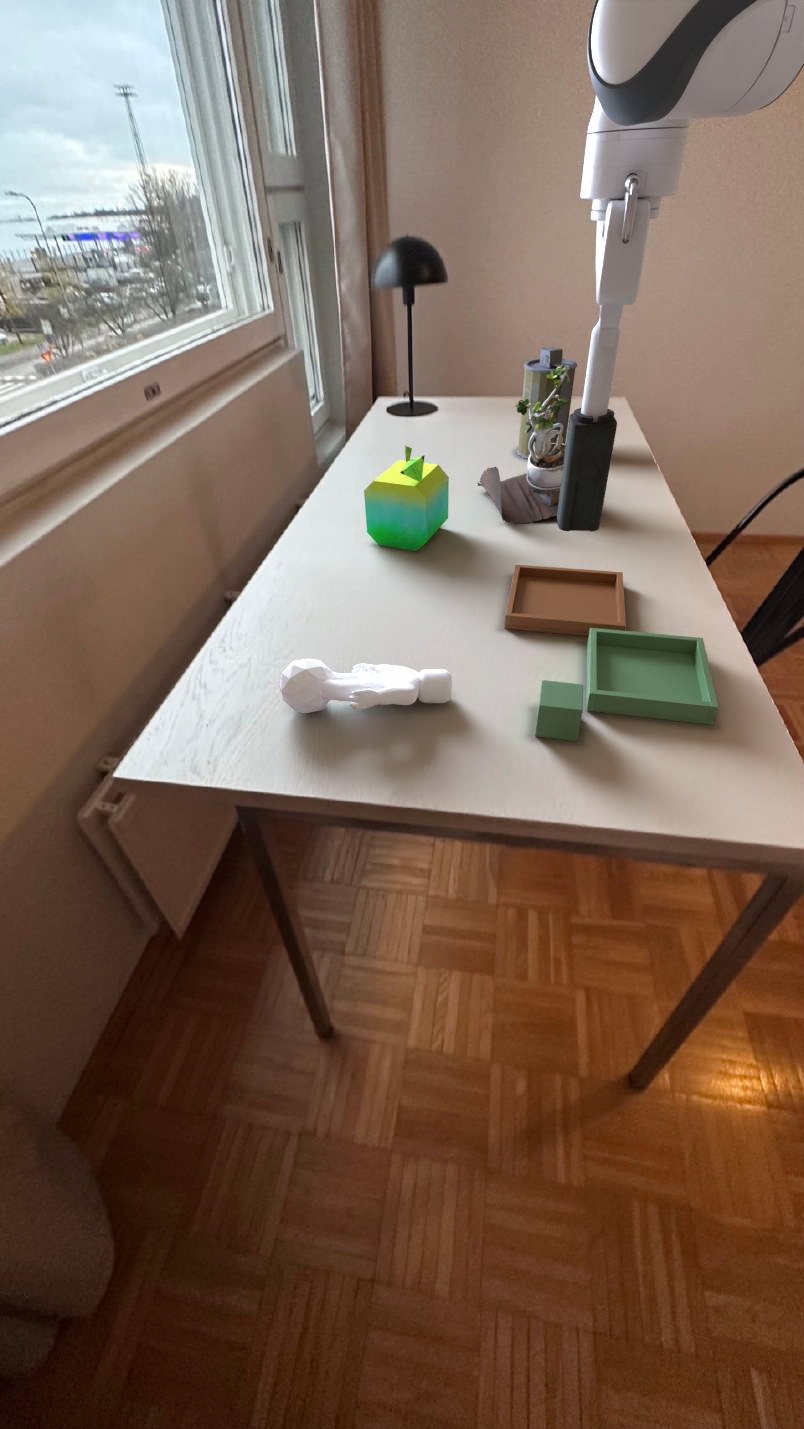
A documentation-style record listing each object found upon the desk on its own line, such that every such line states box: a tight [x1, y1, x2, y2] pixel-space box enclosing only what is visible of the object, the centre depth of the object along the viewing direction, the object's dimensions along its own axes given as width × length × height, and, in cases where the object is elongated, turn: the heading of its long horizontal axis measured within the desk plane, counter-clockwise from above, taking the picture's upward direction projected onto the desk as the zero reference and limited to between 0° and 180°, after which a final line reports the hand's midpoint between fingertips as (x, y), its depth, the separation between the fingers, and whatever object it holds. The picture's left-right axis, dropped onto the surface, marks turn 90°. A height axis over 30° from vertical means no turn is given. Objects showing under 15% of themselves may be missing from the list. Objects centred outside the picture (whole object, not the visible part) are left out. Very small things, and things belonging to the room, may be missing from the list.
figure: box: [278, 658, 453, 714], centre depth 73 cm, size 11×7×20 cm
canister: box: [516, 345, 578, 460], centre depth 131 cm, size 11×10×20 cm
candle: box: [556, 319, 621, 532], centre depth 74 cm, size 5×5×25 cm
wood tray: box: [503, 564, 627, 637], centre depth 89 cm, size 16×15×2 cm
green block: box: [534, 679, 584, 742], centre depth 70 cm, size 4×4×4 cm
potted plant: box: [477, 364, 570, 525], centre depth 111 cm, size 20×19×25 cm
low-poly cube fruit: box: [363, 445, 450, 552], centre depth 104 cm, size 11×10×15 cm
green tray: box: [585, 628, 719, 726], centre depth 76 cm, size 14×14×3 cm
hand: (605, 341), depth 68 cm, fingers closed on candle, 3 cm apart
